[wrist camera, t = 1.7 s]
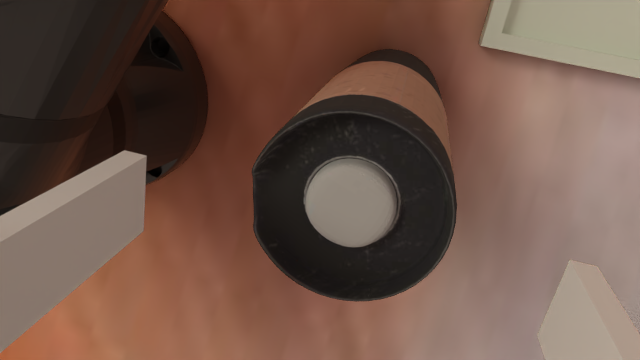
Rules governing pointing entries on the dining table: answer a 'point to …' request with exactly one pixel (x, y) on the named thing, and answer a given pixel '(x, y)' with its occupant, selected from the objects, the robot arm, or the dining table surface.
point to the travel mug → (360, 182)
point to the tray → (568, 32)
